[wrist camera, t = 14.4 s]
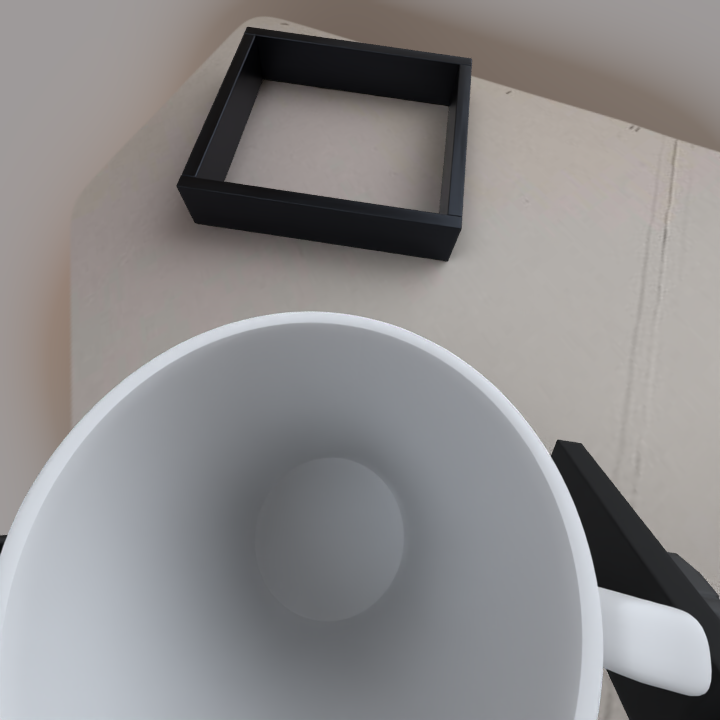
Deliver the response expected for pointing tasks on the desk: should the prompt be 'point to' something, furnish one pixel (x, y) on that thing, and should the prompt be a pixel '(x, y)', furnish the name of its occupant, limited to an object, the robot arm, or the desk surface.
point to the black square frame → (318, 213)
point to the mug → (315, 547)
